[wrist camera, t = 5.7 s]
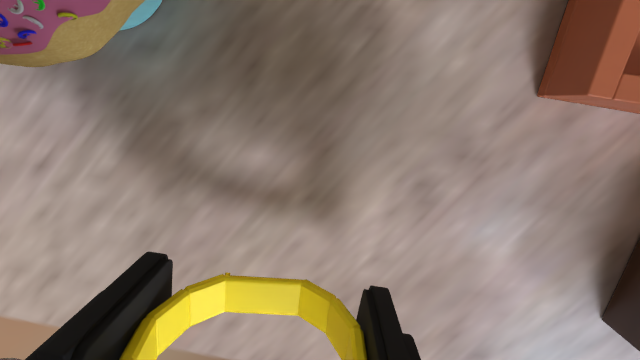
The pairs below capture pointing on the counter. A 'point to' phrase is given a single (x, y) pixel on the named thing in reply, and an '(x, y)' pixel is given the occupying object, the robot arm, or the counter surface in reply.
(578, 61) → the terracotta tray
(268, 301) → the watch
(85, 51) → the cupcake
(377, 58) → the counter surface
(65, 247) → the counter surface
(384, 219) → the counter surface
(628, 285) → the walnut block
